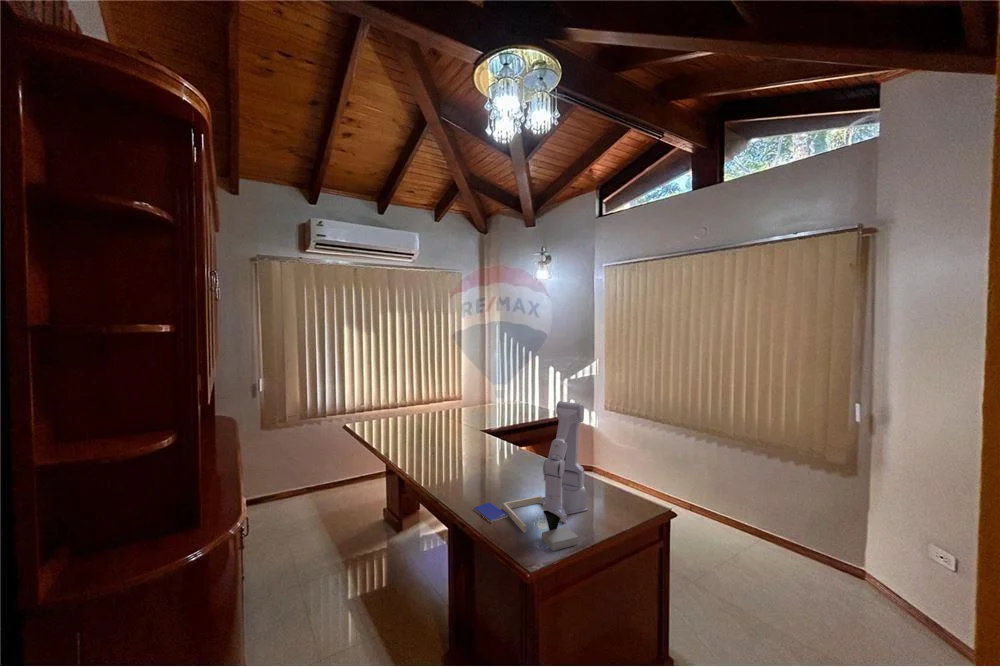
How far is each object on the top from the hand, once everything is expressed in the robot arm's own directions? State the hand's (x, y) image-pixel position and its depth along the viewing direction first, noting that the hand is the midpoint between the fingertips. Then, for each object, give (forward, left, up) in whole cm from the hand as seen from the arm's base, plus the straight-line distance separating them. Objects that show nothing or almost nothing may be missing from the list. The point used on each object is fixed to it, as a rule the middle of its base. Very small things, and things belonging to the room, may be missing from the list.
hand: (552, 531), depth 133 cm
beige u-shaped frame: (0, -14, -1) cm, 14 cm away
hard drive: (+14, -23, -2) cm, 27 cm away
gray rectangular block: (0, +5, -2) cm, 5 cm away
